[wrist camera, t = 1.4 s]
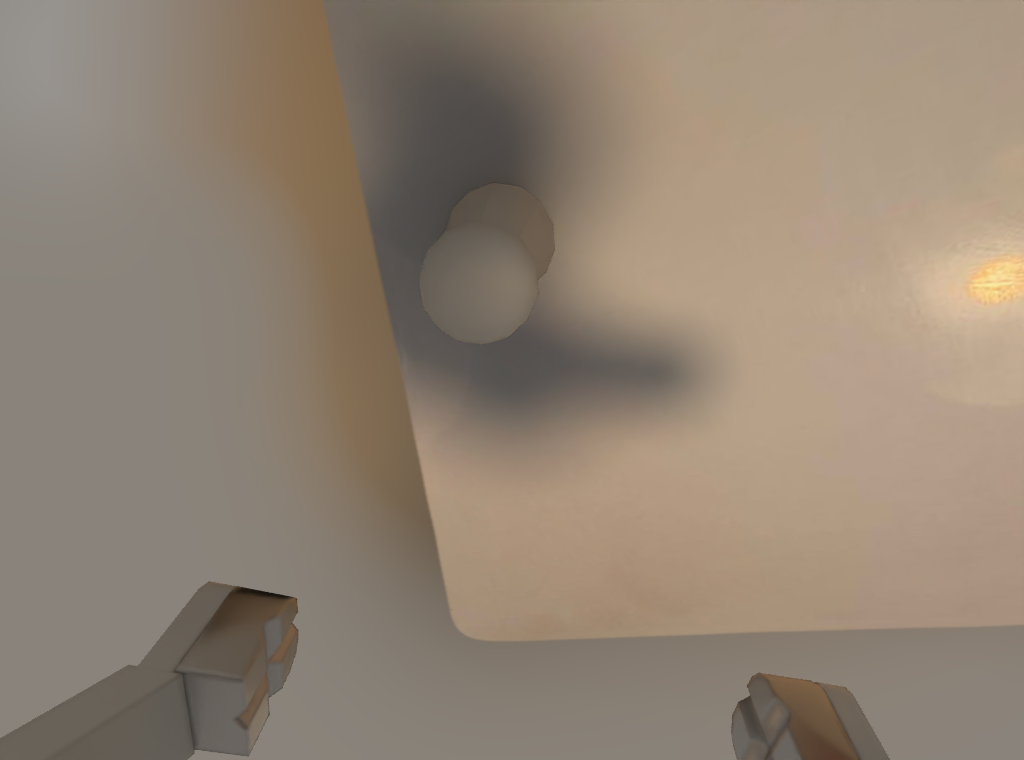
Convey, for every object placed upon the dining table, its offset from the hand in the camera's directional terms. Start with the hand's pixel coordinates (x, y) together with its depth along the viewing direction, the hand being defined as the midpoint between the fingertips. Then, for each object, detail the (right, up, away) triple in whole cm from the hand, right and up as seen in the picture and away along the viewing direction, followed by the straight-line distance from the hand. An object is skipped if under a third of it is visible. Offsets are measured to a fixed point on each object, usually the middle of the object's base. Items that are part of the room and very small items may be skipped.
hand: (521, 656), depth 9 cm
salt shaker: (-1, +13, +21) cm, 24 cm away
